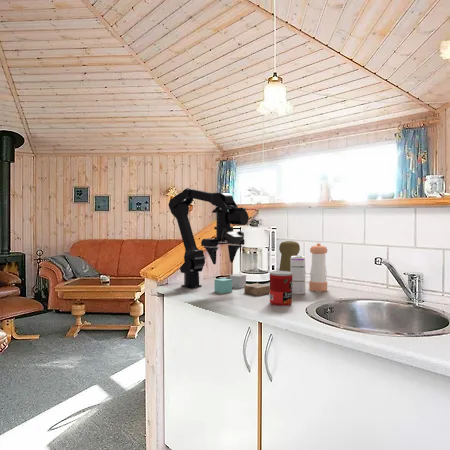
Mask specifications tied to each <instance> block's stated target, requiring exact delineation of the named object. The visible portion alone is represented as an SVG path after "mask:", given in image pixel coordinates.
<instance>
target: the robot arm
mask: <svg viewBox="0 0 450 450" xmlns="http://www.w3.org/2000/svg"><path fill="white" fill-rule="evenodd" d="M193 200H199V201H202V202H207V203H210V204H211V205H212V206H215V208H214V209H213V210H212V211H211V212H212V213H214V214H216V226H214V227H213V228H214V230H216V232H215V233H216V236H214V237H213V238H202V239H201V241H200V244H201V247H203V248H204V249H205V250H206V252H207V253H208V256H209V257H210V260H211V262H212V264H213V265H216V264H217V251H218V250H219V247H218V245H227V248H228V249H227V250H228V256H229V262H230V263H234V260H235V257H236V255H237V252H238V250H239V249H240V248H242V247H243V245H244V246H245V239H244V238H245V234H244V233H245V232H244V231H242V230H239V231H234V228H233V227H234V226H246V225H247V224H248V222H249V219H250V217H249V213H248V212H247V210H246V207H238V204H236V202H235V200H234V197H233V195H232V194H231V193H229V192H227V193H226V192H209V191H205V190H199V189H196V188H192V187H191V188H190V187H187V188H185V189H184V190H183V191H181V192H180V193H178V194H176V195H174V197H172V198H171V199H170V200H169V202H168V209H169V211H170V213H171V214H172V216H173V217H174V218H175V219H176V222H177V225H178V229H179V232H180V235H181V239H182V243H183V246H184V254H183V255H184V256H183V260H184V262H183V264H182V265H181V266H180V267H179V271H180V273H181V274H183V276H184V277H183V283H184V284H181V285H180V287H184V288H188V289H194V288H199V287H202V284H200V272H203V269H204V266H205V264H206V257H205V255H204V251H203V249H199V248H198V247H197V244H196V241H195V237H194V233H193V230H192V226H191V222H190V220H189V212H190V205H192V203H193Z"/></svg>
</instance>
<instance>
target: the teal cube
mask: <svg viewBox="0 0 450 450" xmlns="http://www.w3.org/2000/svg"><path fill="white" fill-rule="evenodd" d="M214 292H215V293H220V294H226V293H232V292H233V287H232V279H230V278H225V277H223V278H222V277H221V278H215V279H214Z"/></svg>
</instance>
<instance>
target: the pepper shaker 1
mask: <svg viewBox="0 0 450 450" xmlns="http://www.w3.org/2000/svg"><path fill="white" fill-rule="evenodd" d="M278 250H279V253H280V262H279V268H278V269H279V270H278V271H289V272H290V258H291V256H299V255H298V254H299V253H300V250H301V246H300V243H299V242H298V241H293V240H286V241H281V242H280V244H279V246H278Z"/></svg>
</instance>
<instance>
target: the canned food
mask: <svg viewBox="0 0 450 450" xmlns="http://www.w3.org/2000/svg"><path fill="white" fill-rule="evenodd" d="M269 286H270V293H269V303H270V305H272V306H278V307H279V306H280V307H288V306H291V305H292V303H293V294H292V272H289V271H279V270H271V271H270V272H269Z"/></svg>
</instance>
